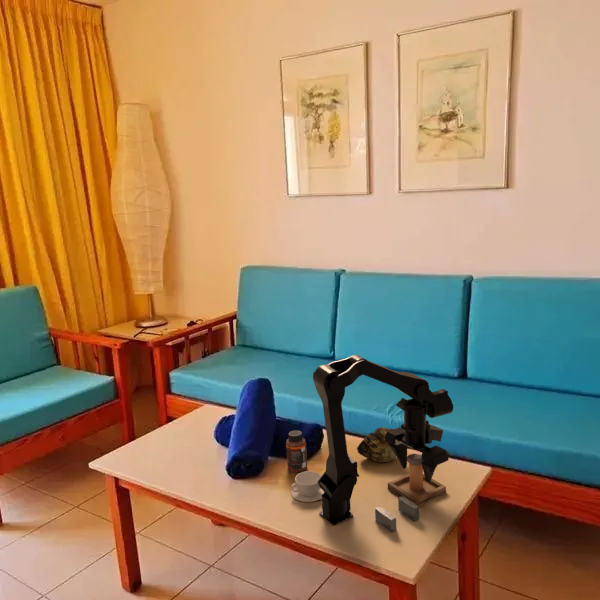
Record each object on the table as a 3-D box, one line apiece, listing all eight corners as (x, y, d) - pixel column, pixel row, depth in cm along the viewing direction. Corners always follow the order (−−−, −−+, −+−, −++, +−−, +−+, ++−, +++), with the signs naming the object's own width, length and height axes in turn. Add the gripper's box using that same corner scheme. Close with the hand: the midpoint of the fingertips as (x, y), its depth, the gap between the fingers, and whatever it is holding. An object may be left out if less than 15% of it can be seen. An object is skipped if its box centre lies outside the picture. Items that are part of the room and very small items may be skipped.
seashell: (370, 447, 178) (369, 418, 176) (404, 454, 172) (403, 424, 170) (355, 462, 170) (354, 431, 167) (391, 470, 164) (390, 438, 162)
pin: (416, 494, 149) (415, 463, 147) (404, 487, 153) (403, 457, 151) (428, 488, 151) (428, 458, 149) (416, 481, 155) (416, 452, 153)
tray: (415, 507, 145) (415, 500, 144) (387, 488, 154) (387, 482, 154) (446, 492, 150) (445, 486, 150) (417, 476, 160) (417, 470, 159)
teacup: (319, 480, 161) (318, 465, 160) (333, 497, 152) (332, 482, 151) (286, 488, 158) (285, 473, 157) (298, 507, 149) (297, 491, 148)
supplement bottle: (310, 469, 167) (308, 434, 165) (291, 474, 165) (289, 439, 162) (303, 461, 172) (300, 427, 170) (285, 465, 170) (282, 431, 168)
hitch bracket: (391, 533, 135) (391, 520, 134) (375, 521, 140) (375, 508, 139) (419, 519, 140) (419, 506, 139) (403, 508, 145) (402, 496, 144)
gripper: (463, 424, 144) (463, 479, 148) (413, 402, 160) (414, 453, 163) (432, 436, 139) (433, 493, 142) (383, 413, 154) (384, 464, 157)
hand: (416, 474), depth 151 cm, fingers open, 9 cm apart
